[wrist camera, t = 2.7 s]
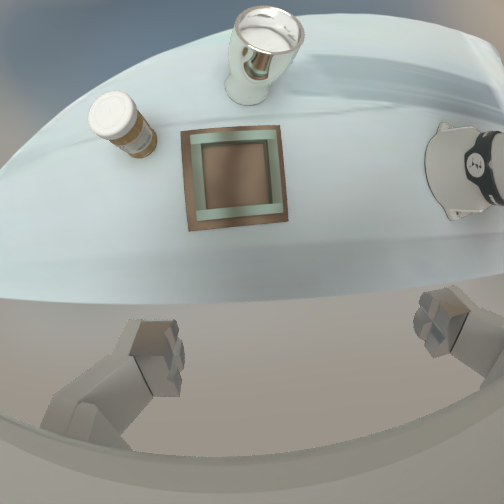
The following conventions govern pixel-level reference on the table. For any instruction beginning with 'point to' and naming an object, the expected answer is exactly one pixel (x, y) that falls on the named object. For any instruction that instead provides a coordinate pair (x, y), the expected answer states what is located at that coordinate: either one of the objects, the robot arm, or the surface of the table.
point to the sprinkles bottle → (122, 124)
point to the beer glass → (261, 51)
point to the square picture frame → (233, 176)
